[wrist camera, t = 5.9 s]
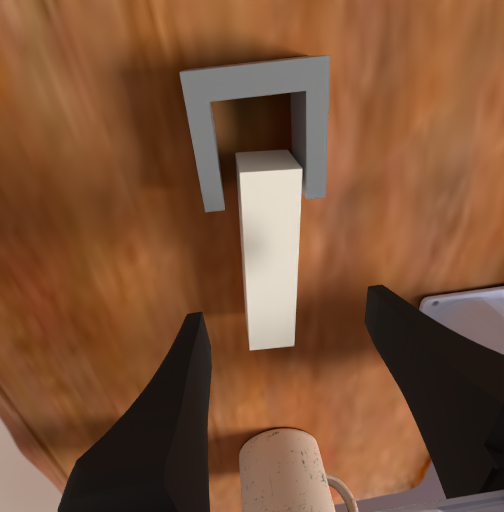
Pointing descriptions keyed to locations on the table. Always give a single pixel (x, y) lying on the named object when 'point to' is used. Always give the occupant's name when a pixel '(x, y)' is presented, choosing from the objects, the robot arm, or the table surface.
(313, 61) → the grey u-shaped block
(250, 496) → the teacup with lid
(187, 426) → the robot arm
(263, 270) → the slat
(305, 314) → the table surface
